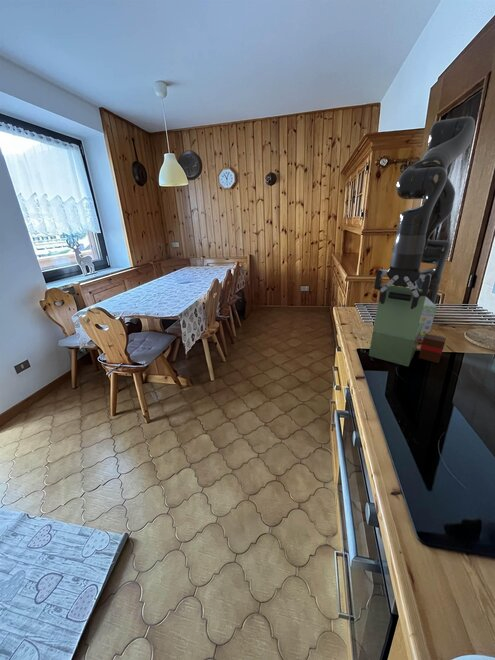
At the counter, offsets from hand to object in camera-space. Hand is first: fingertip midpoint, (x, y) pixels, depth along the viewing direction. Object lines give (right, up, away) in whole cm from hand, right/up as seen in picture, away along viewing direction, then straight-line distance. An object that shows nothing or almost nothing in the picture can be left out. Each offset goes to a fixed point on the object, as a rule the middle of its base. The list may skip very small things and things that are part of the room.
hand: (397, 305), depth 85 cm
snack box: (+22, -8, +30) cm, 38 cm away
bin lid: (+3, -1, +5) cm, 6 cm away
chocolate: (+17, -17, +12) cm, 27 cm away
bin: (+7, -15, +16) cm, 24 cm away
